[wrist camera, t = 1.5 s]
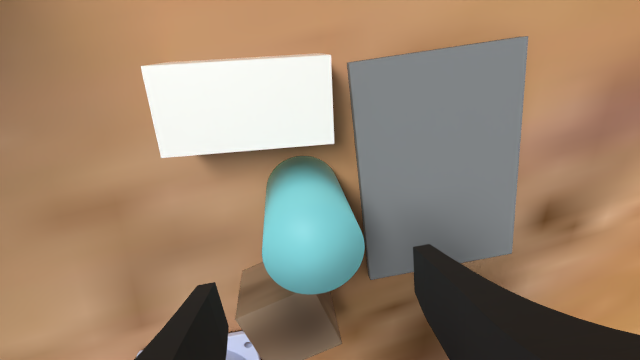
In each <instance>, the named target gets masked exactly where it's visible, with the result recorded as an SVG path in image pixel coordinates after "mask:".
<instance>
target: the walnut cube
mask: <svg viewBox="0 0 640 360" xmlns="http://www.w3.org/2000/svg"><path fill="white" fill-rule="evenodd" d="M235 320H236V321H237V323H238V324H239V326H240V327H241V329H242V330H243V332H244V333H245V335H246V336H247V337H248V339H249V340H250V342H251V343H252V345H253V346H254V348H255V349H256V351H257V352H258V354H259V355H260V357H261V358H262V360H304V359H307V358H309V357H312V356H314V355H316V354H319V353H321V352H324V351H326V350H328V349H331V348H333V347H336V346H338V345H340V344H342V341H341V337H340V332H339V328H338V323H337V319H336V314H335V310H334V305H333V301H332V297H331V293H330V291H328V292H325V293H321V294H300V293H295V292H292V291H289V290H287V289H285V288H283V287H282V286H280V285H279V284H277V283H276V282H275V281H274V280H273V279H272V278H271V277H270V275H269V274H268V272H267V270H266V268H265V266H264V263H263V262H262V263H259V264H257V265H255V266H252V267H250V268H248V269H245V270H243V271H242V277H241V283H240V290H239V297H238V304H237V310H236V317H235Z"/></svg>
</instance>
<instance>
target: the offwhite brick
mask: <svg viewBox="0 0 640 360" xmlns="http://www.w3.org/2000/svg"><path fill="white" fill-rule="evenodd" d="M141 70H142V74H143V79H144V83H145V88H146V92H147V96H148V101H149V105H150V110H151V114H152V119H153V123H154V128H155V132H156V137H157V141H158V146H159V150H160V154H161V158H167V157H179V156H191V155H203V154H215V153H228V152H240V151H252V150H264V149H276V148H288V147H301V146H313V145H325V144H334V122H333V97H332V71H331V55H328V54H322V53H318V54H301V55H284V56H267V57H250V58H234V59H217V60H200V61H183V62H167V63H160V64H153V65H146V66H141Z"/></svg>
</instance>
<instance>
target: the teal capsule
mask: <svg viewBox="0 0 640 360" xmlns="http://www.w3.org/2000/svg"><path fill="white" fill-rule="evenodd" d="M364 250H365V245H364V238H363V235H362V232H361V229H360V227H359V225H358V223H357V221H356V219H355V217H354V214H353V212H352V210H351V208H350V206H349V204H348V201H347V199H346V197H345V195H344V193H343V191H342V188H341V186H340V184H339V182H338V180H337V178H336V175H335V174H334V172H333V170H332V169H331V168H330V167H329V166H328V165H327V164H326V163H325V162H323V161H322V160H320V159H317V158H314V157H310V156H296V157H292V158H289V159H287V160H285V161H283V162H282V163H280V164H279V165H278V166H277V167H276V168H275V169H274V170H273V171H272V173H271V175H270V177H269V179H268V182H267V188H266V202H265V216H264V231H263V245H262V258H263V263H264V266H265V268H266V270H267V272H268V274H269V275H270V277H271V278H272V279H273V280H274V281H275V282H276V283H277V284H279V285H280V286H282V287H283V288H285V289H287V290H289V291H292V292H295V293H300V294H321V293H325V292H328V291H331V290H334V289H336V288H338V287H340V286H341V285H343V284H344V283H346V282H347V281H348V280H349V279H350V278H351V277H352V276H353V275H354V274H355V273H356V271H357V270H358V268H359V267H360V265H361V262H362V260H363V256H364Z"/></svg>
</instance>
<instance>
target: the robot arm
mask: <svg viewBox="0 0 640 360" xmlns="http://www.w3.org/2000/svg"><path fill="white" fill-rule="evenodd" d="M413 261H414V285H415V294H416V296H417V299H418V301H419V304H420V306H421V308H422V311H423V313H424V315H425V317H426V319H427V321H428V323H429V325H430V326H431V328H432V330H433V332H434V333H435V335H436V337H437V339H438V340H439V342H440V344H441V346H442V347H443V349H444V351H445V352H446V354H447V356H448V358H449V359H450V360H640V335H637V334H633V333H629V332H625V331H620V330H616V329H612V328H609V327H605V326H602V325H598V324H595V323H592V322H588V321H585V320H582V319H579V318H576V317H573V316H570V315H567V314H564V313H561V312H558V311H556V310H553V309H550V308H548V307H545V306H542V305H540V304H537V303H535V302H533V301H530V300H528V299H526V298H524V297H521V296H519V295H517V294H515V293H512V292H510V291H508V290H506V289H504V288H502V287H500V286H498V285H497V284H495V283H493V282H491V281H489V280H487V279H485V278H484V277H482V276H480V275H478V274H477V273H475V272H473V271H471V270H470V269H468V268H467V267H465V266H463V265H462V264H460V263H458V262H457V261H455V260H454V259H452V258H451V257H449V256H447V255H446V254H444V253H443V252H441V251H440V250H438V249H437V248H435V247H433V246H432V245H430V244H426V245H421V246H415V247H413ZM228 327H229V326H228V323H227V320H226V317H225V313H224V310H223V307H222V303H221V300H220V297H219V294H218V290H217V287H216V284H215V282H214V283H208V284H203V285H198V286H197V287H196V288H195V289H194V291H193V292H192V293H191V294H190V295H189V297H188V298H187V299H186V301H185V302H184V303H183V304H182V306H181V307H180V308H179V309H178V311H177V312H176V313H175V314H174V315H173V317H172V318H171V319H170V320H169V321H168V323H167V324H166V325H165V326H164V327H163V329H162V330H161V331H160V332H159V333H158V334H157V335H156V336H155V337H154V339H153V340H152V341H151V342H150V343H149V344H148V345H147V346H146V347H145V348H144V350H141V351H140V352H138V354H137V357H136V358H135V359H134V360H261V359H260V355H259V354H258V352H257V351H256V349H255V348H254V346H253V345H252V343H251V342H250V340H249V339H248V337H247V336H246V335H245V333H244V332H243V331H239V332H234V333H228ZM246 342H250V343H249V344H248V343H246Z"/></svg>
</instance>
